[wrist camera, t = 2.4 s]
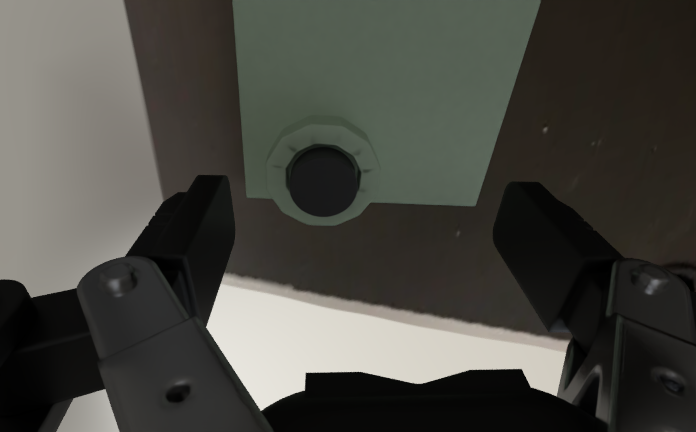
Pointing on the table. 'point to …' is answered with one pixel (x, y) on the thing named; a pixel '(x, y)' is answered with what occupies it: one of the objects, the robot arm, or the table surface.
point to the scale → (377, 93)
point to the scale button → (323, 182)
